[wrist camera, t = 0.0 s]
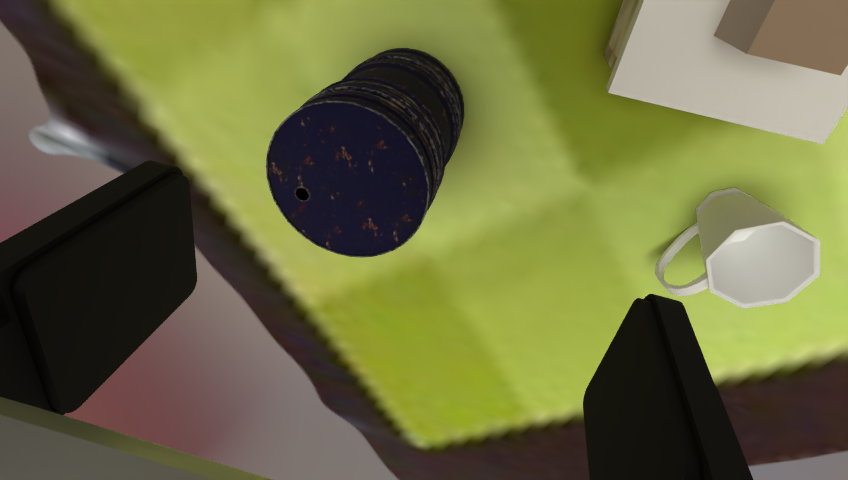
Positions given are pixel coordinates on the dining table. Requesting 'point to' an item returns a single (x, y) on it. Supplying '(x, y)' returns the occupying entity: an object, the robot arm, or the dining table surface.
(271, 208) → the dining table surface
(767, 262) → the cup
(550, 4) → the dining table surface
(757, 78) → the lid
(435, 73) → the storage jar
